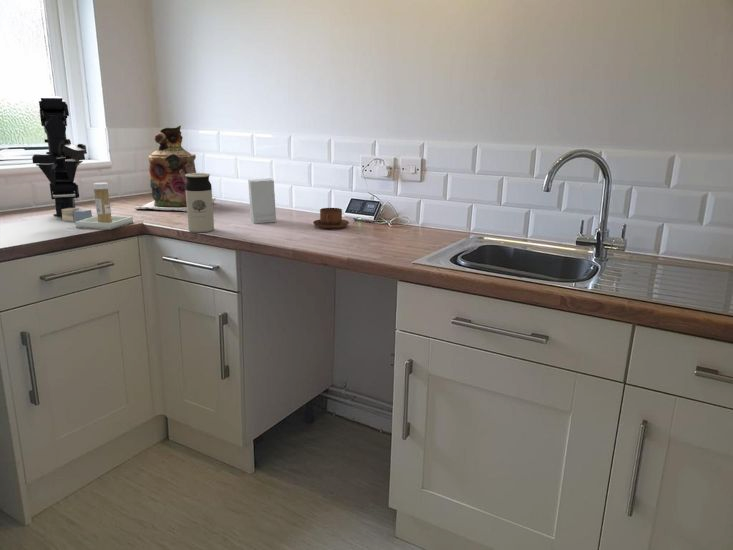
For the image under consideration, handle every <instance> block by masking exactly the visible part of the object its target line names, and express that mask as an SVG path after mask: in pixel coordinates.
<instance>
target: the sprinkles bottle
mask: <svg viewBox="0 0 733 550" xmlns="http://www.w3.org/2000/svg"><path fill="white" fill-rule="evenodd" d="M92 187H93V191H94V200H95V201H94V203H95V208H96V214H97V215H96V216H98V222H103V223H111V222H112V218H111V216H112V210H111V203H110V202H111V201H110V196H109V195H110V194H109V193H110V192H109V183H108V182H103V181H102V182H94V183H92Z"/></svg>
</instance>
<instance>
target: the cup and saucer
mask: <svg viewBox="0 0 733 550" xmlns="http://www.w3.org/2000/svg"><path fill="white" fill-rule="evenodd" d="M319 214H320V215H319V216H320V217H319V219H316V220H313V225H314V226H315V227H317V228H320V229H325V230H335V229H336V230H337V229H342V228H345V227H347V226H348V225H349V223H350V222H349V221H348V220H345V219H343V209H342V208H339V207H323V208H320V209H319Z"/></svg>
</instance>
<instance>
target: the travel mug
mask: <svg viewBox="0 0 733 550" xmlns="http://www.w3.org/2000/svg"><path fill="white" fill-rule="evenodd" d="M185 176H186V178H187V182H186V185H185V188H186V202H187V211H186V212H187V225H188V226H187V227H188V231H190V232H192V233H209V232H212V231H213V230H214V229H215V222H214V221H215V220H214V205H213V204H214V203H213V202H212V198H213V187H212V183H211V181H210V176H211V174H210V173H205V172H201V173H200V172H199V173H198V172H196V173H191V174H186V175H185Z"/></svg>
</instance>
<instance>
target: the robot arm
mask: <svg viewBox="0 0 733 550" xmlns="http://www.w3.org/2000/svg"><path fill="white" fill-rule="evenodd" d="M38 106H39V117H40V124H41V126H42V127H43V130H44V133H45V134H46V138H45V139H44V143H47V146H48V151H46V152H45V153H39V154H33V155H32V157H31V158H32V164H35V166H36V167H38V168H39V169H40V170H41V172H43V174H44V176H45V177H46V179H47V180H48V181H49V184H48V185H49V189H50V197H51V200H54V206H55V212H56V213H54V214H52V215H53V216H54V217H62V210H61V209H66V208H76V203H75V202H76V201H75V200H76V199H78V198H80V191H79V185H78V184H77V183H76V181H75V177H76V174H77V173H76V172H77V169H78V166H79V165H80V164H81V163H83V162H84V161H85V160H86V157H85V155H87V153H88V152H87V146H86V144H84V143H78V144H72V142H71V140H70V138H67V132H66V131H67V127H68V122H67V119H68V117H70V113H69V106H68V104H67V101H65V100H63V97H61V96H41V97H40V99H38Z"/></svg>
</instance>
